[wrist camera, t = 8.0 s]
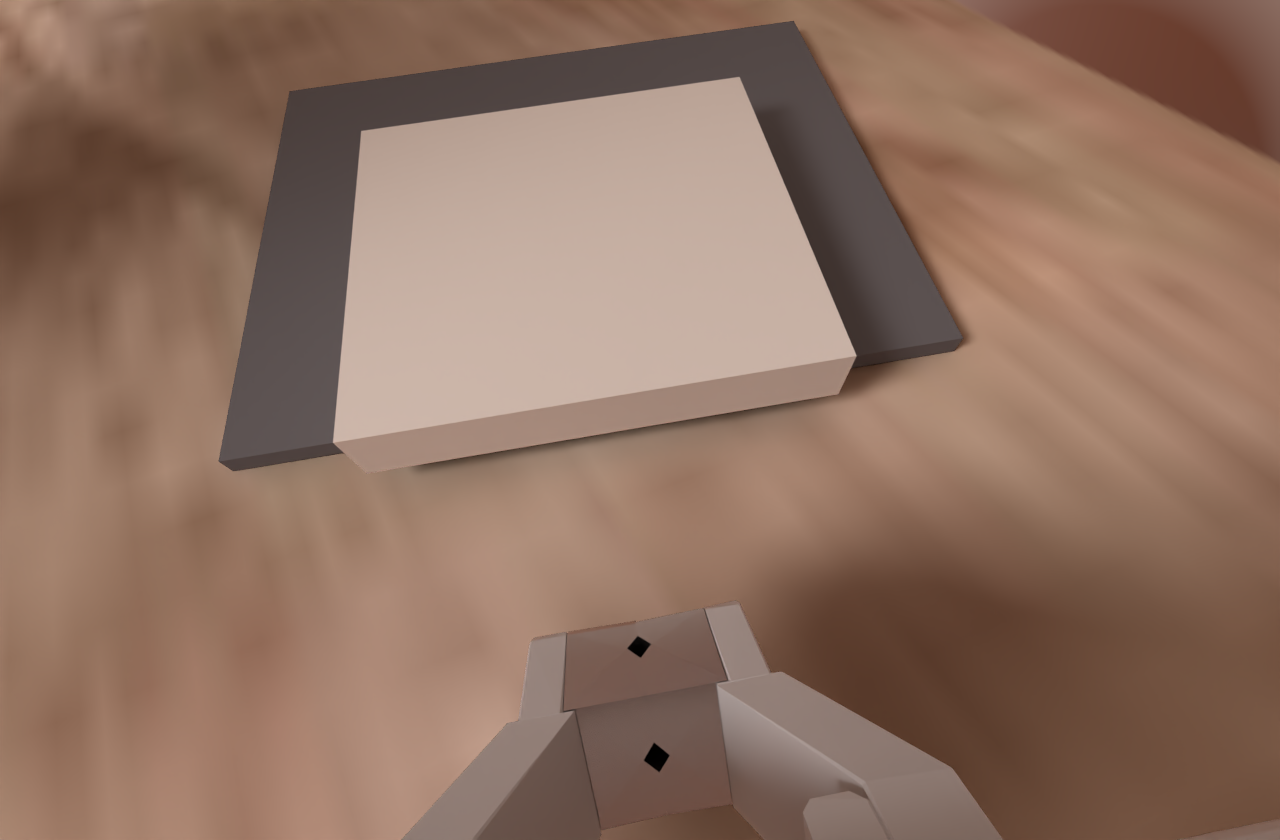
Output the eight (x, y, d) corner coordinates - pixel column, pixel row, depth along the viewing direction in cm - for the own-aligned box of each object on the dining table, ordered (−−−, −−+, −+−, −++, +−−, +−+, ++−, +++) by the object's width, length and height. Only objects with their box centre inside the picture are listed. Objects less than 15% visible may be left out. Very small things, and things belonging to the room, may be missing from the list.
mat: (954, 351, 17) (963, 337, 16) (233, 470, 16) (218, 461, 15) (790, 36, 25) (793, 20, 24) (298, 105, 24) (289, 91, 23)
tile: (856, 355, 14) (739, 77, 19) (333, 442, 13) (361, 131, 19) (835, 400, 16) (733, 133, 21) (372, 478, 15) (387, 184, 20)
